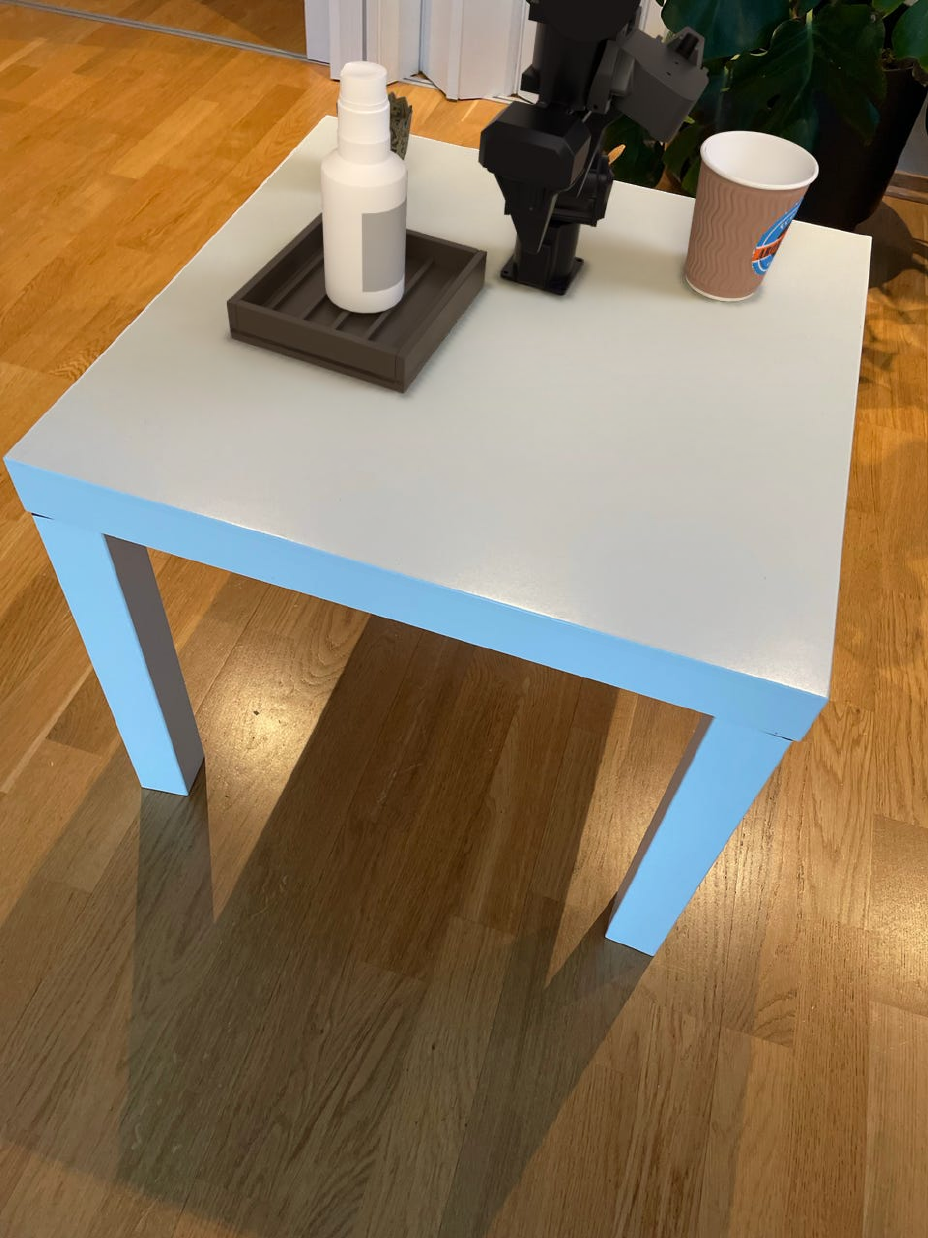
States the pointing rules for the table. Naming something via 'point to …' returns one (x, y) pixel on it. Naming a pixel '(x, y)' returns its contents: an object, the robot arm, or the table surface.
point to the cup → (398, 124)
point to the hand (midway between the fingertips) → (551, 223)
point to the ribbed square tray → (351, 341)
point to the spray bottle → (364, 198)
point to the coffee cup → (743, 210)
